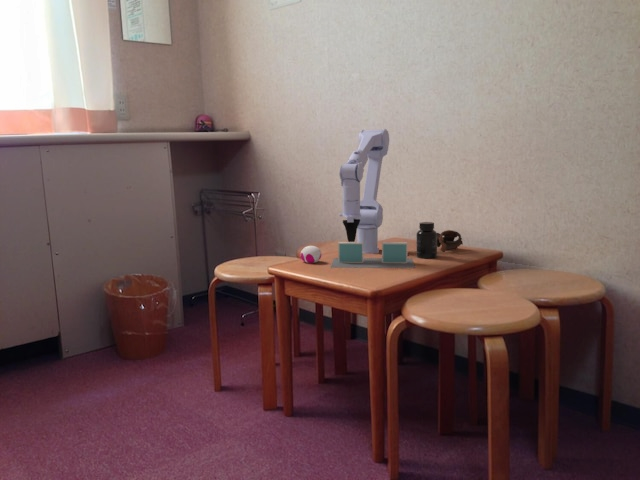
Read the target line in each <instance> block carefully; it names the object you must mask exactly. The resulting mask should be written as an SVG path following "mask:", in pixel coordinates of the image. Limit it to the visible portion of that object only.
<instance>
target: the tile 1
mask: <svg viewBox="0 0 640 480" xmlns="http://www.w3.org/2000/svg"><path fill="white" fill-rule="evenodd" d="M337 244H338V245H337V246H338V247H337V249H338V250H337V252H338V253H337V255H338V256H337V258H338V263H363V258H364V253H363V242H357V241H355V242H348V241H338V243H337Z"/></svg>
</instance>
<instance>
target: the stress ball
mask: <svg viewBox="0 0 640 480" xmlns="http://www.w3.org/2000/svg"><path fill="white" fill-rule="evenodd" d="M300 258H301V259H300V260H302V262H304V263H306V264H315V263H316V264H317V263H318V262H319V261H320V260H321V258H322V251H321V249H320V248H319V247H317V246H315V245H307V246H305V247H303V249H301V251H300Z"/></svg>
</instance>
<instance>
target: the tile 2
mask: <svg viewBox="0 0 640 480" xmlns="http://www.w3.org/2000/svg"><path fill="white" fill-rule="evenodd" d="M381 258H382V263H407V258H408V242H407V241H406V242H405V241H400V242H399V241H391V242H390V241H382V242H381Z"/></svg>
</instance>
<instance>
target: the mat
mask: <svg viewBox="0 0 640 480" xmlns="http://www.w3.org/2000/svg"><path fill="white" fill-rule="evenodd" d="M330 268H340V269H341V268H345V269H346V268H351V269H352V268H353V269H354V268H358V269H359V268H360V269H363V268H365V269H367V268H368V269H370V268H371V269H374V268H375V269H379V268H380V269H416V266H415V264H414V260H413V258H408V257H407V263H382V257H380V258H379V257H378V258H376V257H363V263H338V257H333V260H332V262H331V264H330Z"/></svg>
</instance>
